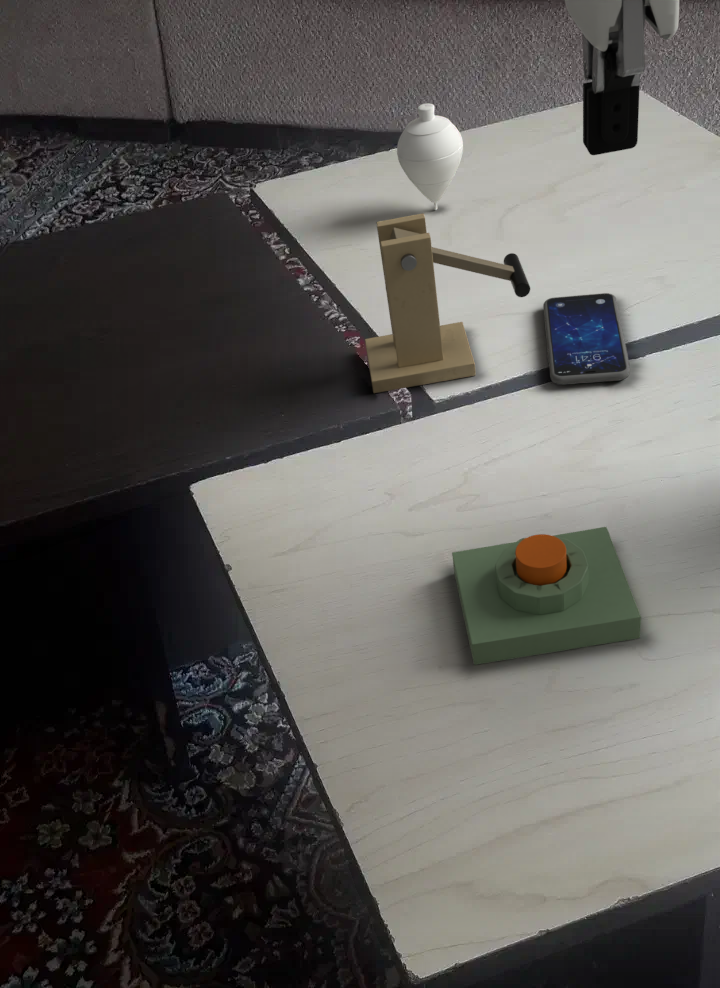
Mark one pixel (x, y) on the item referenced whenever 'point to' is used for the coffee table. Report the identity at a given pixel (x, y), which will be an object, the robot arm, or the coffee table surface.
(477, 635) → the control block
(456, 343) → the lever bracket
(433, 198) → the spinning top
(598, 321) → the smartphone
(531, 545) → the button
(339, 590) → the coffee table surface
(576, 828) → the coffee table surface
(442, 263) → the press lever
